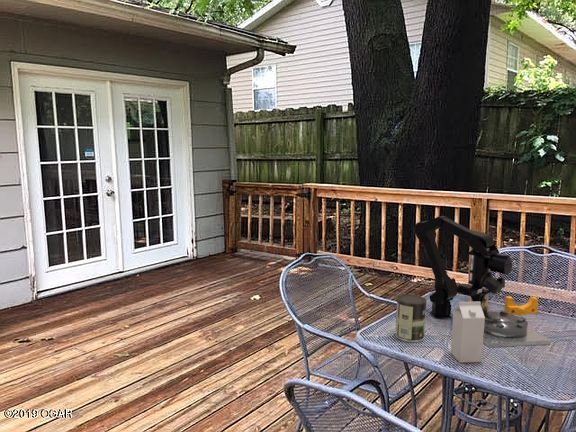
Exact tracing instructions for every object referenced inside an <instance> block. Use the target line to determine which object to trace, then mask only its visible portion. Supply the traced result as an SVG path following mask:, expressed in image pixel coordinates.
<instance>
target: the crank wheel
mask: <svg viewBox="0 0 576 432" xmlns="http://www.w3.org/2000/svg"><path fill="white" fill-rule="evenodd" d="M488 304H489V296H488V297H485V298H484V300H483V302H482V311H483V313H484V316H485V323H484V332H487V333H489V334H493V335H497V336H502V337H521V336H524V335H526V333H527V326H529V325H528V324H529V323H528V321H527V318H526V317H524V316H519V315H512V314H508V313H507V311H504V310H505V309H503V310H500V311H488V307H489V305H488Z"/></svg>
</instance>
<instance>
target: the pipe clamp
mask: <svg viewBox="0 0 576 432" xmlns="http://www.w3.org/2000/svg"><path fill="white" fill-rule="evenodd" d="M538 305H539V298H538V297H536V296H530V297H529V300H528V302H527V303H525V304H523V305H517V304H515V302H514V297H512V296H510V295H506V296H505V301H504V309H503V310H504V311H507V313H508V314H512V315H515V316H526V314H534V315H535V314H538Z"/></svg>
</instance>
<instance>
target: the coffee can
mask: <svg viewBox="0 0 576 432" xmlns="http://www.w3.org/2000/svg"><path fill="white" fill-rule="evenodd" d="M426 310H427V299H426V298H425V297H423V296H421V295H417V294H407V293H406V294H401V295H397V296H396V313H395V314H396V317H395V331H394V333H395V334H394V336H395V337H396V338H397V339H398V340H399V341H403V342H407V343H421V342H422V341H424V339H425V330H426V329H425V325H426V314H427V312H426Z"/></svg>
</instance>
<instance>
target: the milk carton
mask: <svg viewBox="0 0 576 432" xmlns="http://www.w3.org/2000/svg"><path fill="white" fill-rule="evenodd" d="M452 318H453V319H452V328H451V329H452V331H451V343H450V353H451V355H452V356H454V358H455V359H456V360H457V361H458V362H459V363H482V358H483V357H482V355H483V347H484V344H483V335H484V323H485V316H484V313H483V311H482V308H481V302H468V301H458V306H456V307H455V308H454V309H453V314H452Z"/></svg>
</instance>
